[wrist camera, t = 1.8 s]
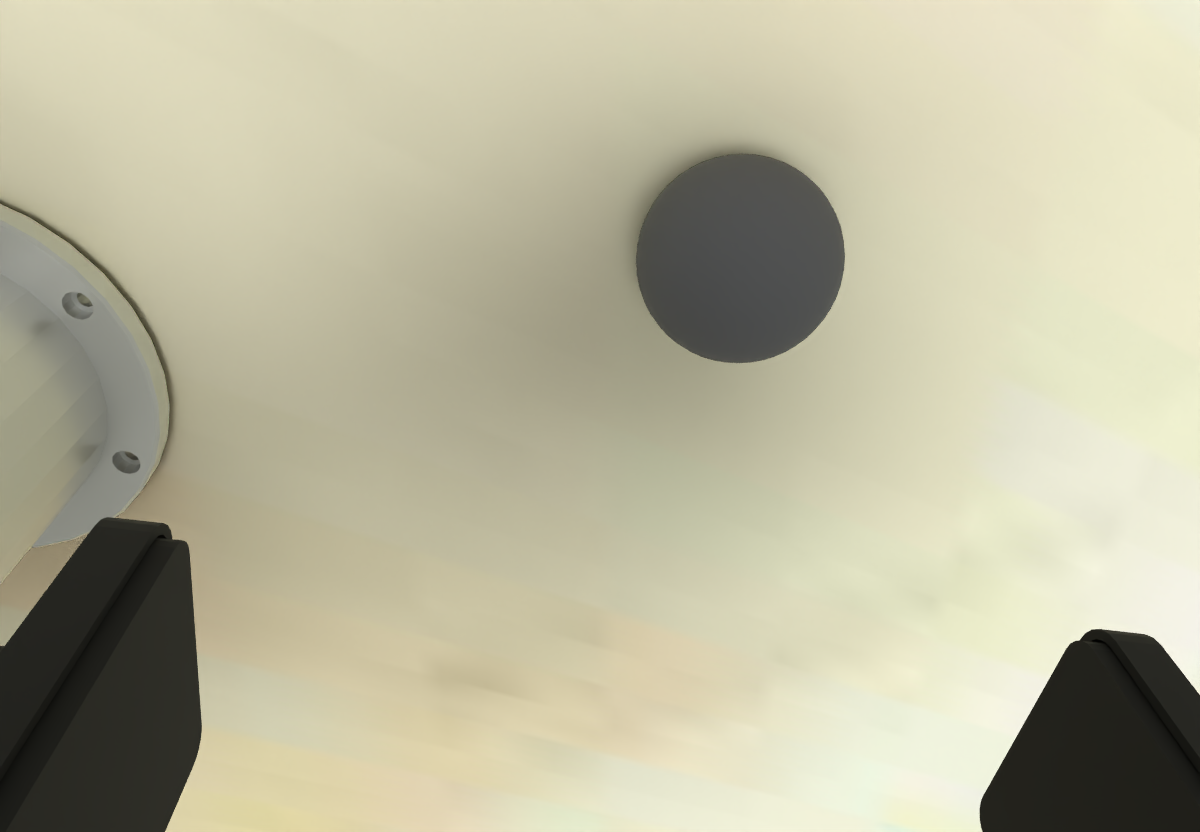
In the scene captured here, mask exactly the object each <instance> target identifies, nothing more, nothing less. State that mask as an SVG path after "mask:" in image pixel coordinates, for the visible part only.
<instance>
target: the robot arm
mask: <svg viewBox="0 0 1200 832" xmlns="http://www.w3.org/2000/svg"><path fill="white" fill-rule="evenodd" d="M169 412H170V404H169V398H168V392H167V386H166V380H165V374H164V371H163V368H162V366H161V363H160V361H159V358H158V355H157V353H156V350H155V347H154V345H153V342H152V340H151V338H150V336H149V335H148V333H147V331H146V330H145V328H144V326H143V325H142V323H141V321H140V320H139V318H138V316H137V315H136V313H135V311H134V310H133V308H132V306H131V305H130V304H129V303H128V302H127V300H126V299H125V298H124V297H123V296H122V295H121V293H120V292H119V291H118V290H117V289H116V287H115V286H114V285H113V284H112V283H111V282H110V280H109V279H108V278H107V277H106V276H105V274H104V273H103V272H101V271H100V270H99V269H98V268H97V267H96V266H95V265H94V264H92V263H91V262H90V261H89V260H88V259H87V258H86V257H84V256H83V255H82V254H81V253H80V252H79V251H78V250H76V249H75V248H74V247H73V246H72V245H71V244H70V243H68V242H67V241H65V240H63V239H62V238H60V237H59V236H57V235H56V234H54V233H53V232H51V231H50V230H48V229H47V228H45V227H43V226H42V225H40V224H39V223H37V222H36V221H34V220H33V219H31V218H29V217H27V216H25V215H23V214H21V213H19V212H17V211H14V210H12V209H10V208H8V207H6V206H4V205H2V204H0V585H1V583H2V582H3V581H4V580H5V578H6V577H7V576H8V575H9V574H10V572H11V571H12V570H13V569H14V568H15V566H16V565H17V564H18V563H19V561H20V560H21V559H22V558H23V557H24V555H25V554H26V553H27V552H28V551H29V549H30V548H35V547H44V546H49V545H53V544H58V543H62V542H67V541H71V540H74V539H77V538H79V537H81V536H83V535H86V534H88V533H89V534H88V535H87V537H86V538H85V539H84V541H83V542H82V543H81V545H80V546H79V547H78V549H77V550H76V551H75V553H74V554H73V555H72V557H71V558H70V559H69V561H68V562H67V563H66V565H65V566H64V567H63V569H62V570H61V571H60V573H59V574H58V575H57V577H56V578H55V579H54V581H53V582H52V583H51V585H50V586H49V588H48V589H47V590H46V592H45V593H44V594H43V596H42V597H41V598H40V600H39V601H38V602H37V604H36V605H35V606H34V608H33V609H32V610H31V612H30V613H29V614H28V616H27V617H26V618H25V620H24V621H23V622H22V624H21V625H20V626H19V628H18V629H17V630H16V632H15V633H14V634H13V636H12V637H11V638H10V640H9V641H8V643H7V644H6V645H5V646H0V832H165V830H166V828H167V826H168V823H169V821H170V819H171V816H172V814H173V812H174V809H175V807H176V805H177V802H178V800H179V798H180V796H181V793H182V791H183V789H184V786H185V784H186V782H187V779H188V777H189V775H190V772H191V770H192V768H193V765H194V762H195V760H196V757H197V753H198V750H199V745H200V740H201V732H202V723H201V709H200V695H199V681H198V666H197V652H196V638H195V624H194V609H193V595H192V581H191V567H190V553H189V547H188V544H187V542H185V541H182V540H174V539H172V535H171V530H170V529H169V527H168V525H166V524H164V523H156V522H147V521H138V520H129V519H120V518H115V517H117V516H118V515H120V514H121V513H122V512H124V511H125V510H126V508H127V507H128V506H129V505H130V504H131V503H132V501H133V500H134V499H135V498H136V497H137V495H138V494H139V493H140V492H141V491H142V489H143V488H144V486H145V485H146V483H147V482H148V480H149V479H150V477H151V475H152V474H153V472H154V471H155V469H156V468H157V466H158V465H159V462H160V459H161V456H162V453H163V450H164V447H165V444H166V441H167V438H168V426H169ZM980 823H981V828H982V831H983V832H1200V695H1199V694H1198V692H1197V691H1196V690H1195V688H1194V687H1193V686H1192V685H1191V683H1190V682H1189V681H1188V679H1187V678H1186V677H1185V675H1184V674H1183V673H1182V672H1181V670H1180V669H1179V668H1178V666H1177V665H1176V664H1175V663H1174V661H1173V660H1172V659H1171V657H1170V656H1169V655H1168V654H1167V652H1166V651H1165V650H1164V648H1163V647H1162V646H1161V645H1160V644H1159V643H1158V642H1157V641H1156V640H1155V639H1154V638H1152V637H1150V636H1148V635H1145V634H1137V633H1129V632H1120V631H1111V630H1102V629H1095V630H1091V631H1089V632H1087V633H1085V634H1084V636H1083V637H1082V638H1081V639H1080V641H1075V642H1073V643H1071V644H1070V645H1069V646H1068V648H1067V649H1066V650H1065V652H1064V654H1063V656H1062V657H1061V659H1060V661H1059V663H1058V665H1057V666H1056V668H1055V670H1054V672H1053V673H1052V675H1051V677H1050V679H1049V680H1048V682H1047V684H1046V686H1045V688H1044V689H1043V691H1042V693H1041V695H1040V696H1039V698H1038V700H1037V702H1036V703H1035V705H1034V707H1033V709H1032V711H1031V712H1030V714H1029V716H1028V718H1027V719H1026V721H1025V723H1024V725H1023V726H1022V728H1021V730H1020V732H1019V734H1018V735H1017V737H1016V739H1015V741H1014V742H1013V744H1012V746H1011V748H1010V749H1009V751H1008V753H1007V755H1006V757H1005V758H1004V760H1003V762H1002V764H1001V765H1000V767H999V769H998V771H997V772H996V774H995V776H994V778H993V780H992V781H991V783H990V785H989V787H988V788H987V790H986V792H985V794H984V795H983V798H982V800H981V805H980Z"/></svg>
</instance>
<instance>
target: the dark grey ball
mask: <svg viewBox="0 0 1200 832" xmlns="http://www.w3.org/2000/svg"><path fill="white" fill-rule="evenodd" d="M844 261H845V253H844V241H843V236H842V231H841V226H840V224H839V221H838V218H837V216H836V213H835V211H834V210H833V208H832V206H831V204H830V202H829V201H828V199H827V197H826V196H825V195H824V193H823V192H822V191H821V190H820V188H819V187H818V186H817V185H816V184H815V183H814V182H813V181H811V180H810V179H809V178H808V177H807V176H806V175H804V174H803V173H802V172H800V171H799V170H797V169H796V168H794V167H792V166H790V165H788V164H786V163H784V162H781V161H779V160H776V159H773V158H769V157H765V156H760V155H753V154H733V155H726V156H721V157H716V158H713V159H710V160H707V161H704V162H702V163H700V164H697V165H695V166H693V167H691V168H690V169H688V170H687V171H685V172H684V173H682V174H680V175H679V176H678V177H677V178H676V179H674V180H673V181H672V182H671V183H670V184H669V185H668V186H667V187H666V188H665V189H664V190H663V191H662V192H661V193H660V195H659V196H658V197H657V199H656V200H655V202H654V203H653V205H652V206H651V208H650V210H649V212H648V214H647V216H646V218H645V220H644V223H643V226H642V228H641V231H640V235H639V240H638V244H637V255H636V267H637V277H638V282H639V287H640V290H641V293H642V296H643V299H644V302H645V304H646V306H647V308H648V310H649V312H650V314H651V315H652V317H653V318H654V319H655V321H656V322H657V324H658V325H659V326H660V328H661V329H662V330H663V331H664V332H665V333H666V334H667V335H668V336H669V337H670V338H671V339H673V340H674V341H675V342H676V343H678V344H679V345H681V346H682V347H684V348H686V349H687V350H689V351H691V352H692V353H695V354H697V355H699V356H701V357H704V358H708V359H711V360H715V361H721V362H729V363H747V362H755V361H761V360H765V359H768V358H771V357H775V356H777V355H779V354H781V353H784V352H786V351H788V350H789V349H791V348H793V347H795V346H796V345H797V344H799V343H800V342H802V341H803V340H804V339H806V338H807V337H808V336H809V335H810V334H811V333H812V332H813V331H814V330H815V329H816V328H817V327H818V325H819V324H820V323H821V322H822V321H823V319H824V318H825V317H826V315H827V314H828V312H829V311H830V309H831V307H832V305H833V303H834V301H835V299H836V297H837V294H838V291H839V288H840V285H841V281H842V276H843V271H844Z"/></svg>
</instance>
